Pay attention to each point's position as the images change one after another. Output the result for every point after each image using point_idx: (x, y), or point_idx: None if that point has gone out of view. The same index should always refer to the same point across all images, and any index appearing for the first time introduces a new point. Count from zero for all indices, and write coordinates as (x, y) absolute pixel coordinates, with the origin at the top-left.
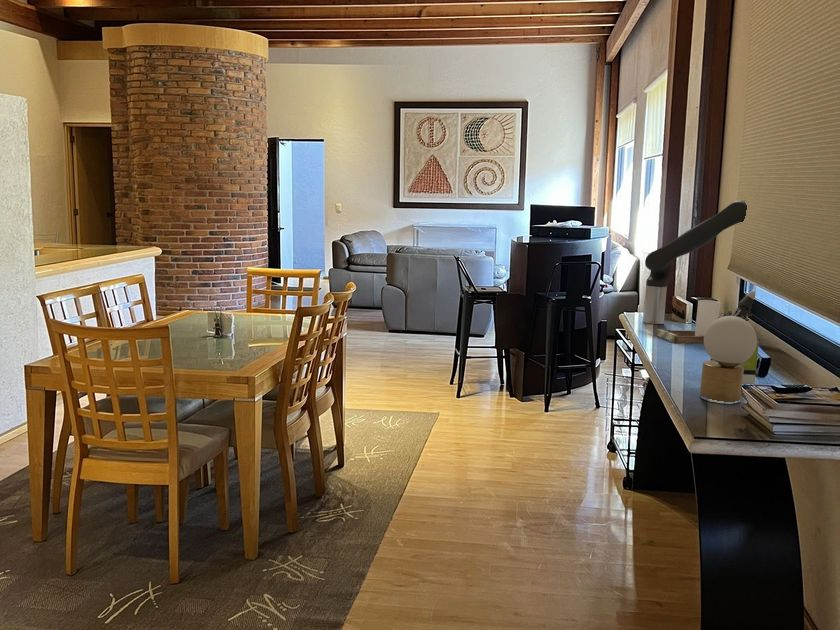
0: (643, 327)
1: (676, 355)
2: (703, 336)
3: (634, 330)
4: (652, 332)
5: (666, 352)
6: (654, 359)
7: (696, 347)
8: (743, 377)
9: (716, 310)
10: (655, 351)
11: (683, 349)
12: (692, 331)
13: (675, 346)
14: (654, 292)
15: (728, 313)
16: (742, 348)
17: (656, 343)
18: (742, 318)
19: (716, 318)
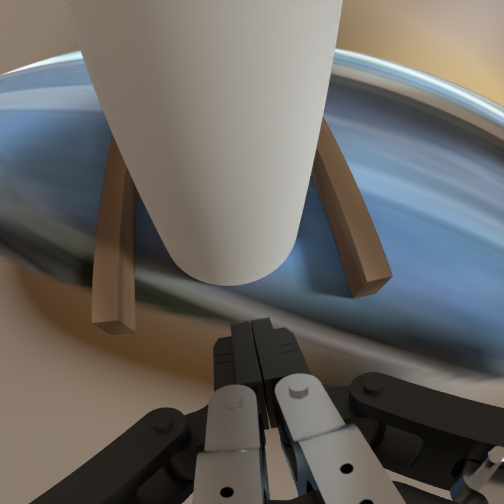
0: (451, 98)
1: (5, 98)
2: (117, 157)
3: (371, 57)
4: (359, 80)
5: (33, 82)
6: (6, 76)
7: (48, 139)
8: None
9: (82, 52)
10: (50, 67)
11: (41, 107)
12: (319, 157)
13: (81, 91)
14: None
15: (499, 423)
16: None
17: None
18: (47, 499)
19: (117, 139)
